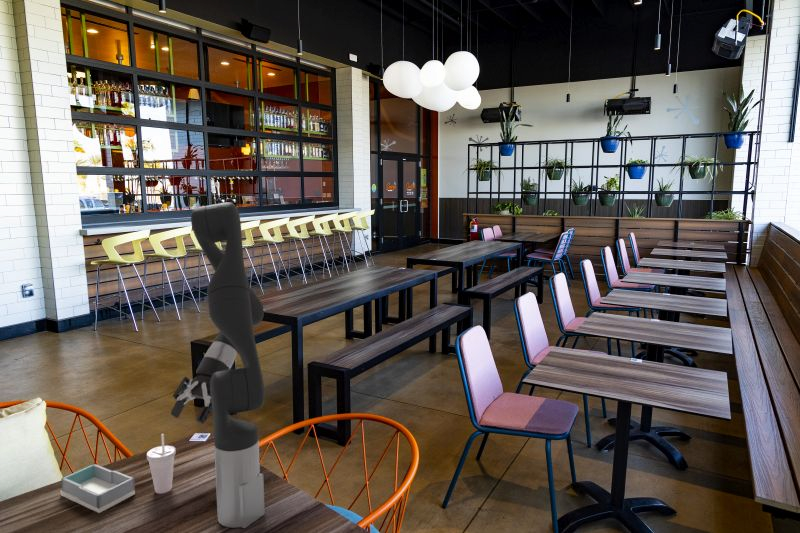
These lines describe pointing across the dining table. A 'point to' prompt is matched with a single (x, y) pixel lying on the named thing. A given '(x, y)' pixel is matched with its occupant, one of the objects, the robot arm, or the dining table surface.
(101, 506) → the grey tray
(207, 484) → the dining table surface
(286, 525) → the dining table surface
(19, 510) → the dining table surface
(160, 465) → the smoothie
